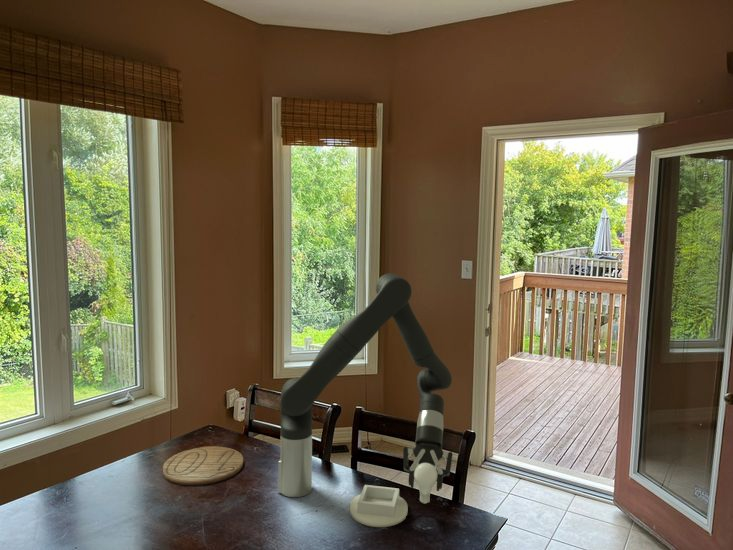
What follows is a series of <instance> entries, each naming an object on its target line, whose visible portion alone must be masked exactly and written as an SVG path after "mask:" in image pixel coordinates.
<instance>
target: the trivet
mask: <svg viewBox="0 0 733 550" xmlns="http://www.w3.org/2000/svg"><path fill="white" fill-rule="evenodd" d="M243 466H244V457H243V454H242V453H241V452H239V450H236V449H233V448H229V447H225V446H216V445H215V446H202V447H195V448H194V447H193V448H190V449H186V450H183V451H181V452H178V453H176V454H174V455H172V456H171V457H169V458H168V459H167V460H166V461H165V462H164V464H163V465H162V475H163V477H164V478H165V479H166V481H169V482H171V483H173V484H175V485H176V484H177V485H181V486H205V485H209V484H215V483H219V482H222V481H225V480H227V478H228V479H230V478H232V477H233V476H235V475H236V474H238V473H239V472H240V471H241V470H242V468H243Z"/></svg>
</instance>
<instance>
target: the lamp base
mask: <svg viewBox="0 0 733 550" xmlns="http://www.w3.org/2000/svg"><path fill="white" fill-rule="evenodd" d="M408 509H409V508H408V503H407V501H406V500H405V499H404V498H403V497H401V496H400V488H395V487H388V486H378V485H371V484H369V485H368V484H364V486H363V488H362V490H361V493H360V494H358V495H356V496H355V497H353V498H352V500H351V501H350V504H349V514H350V517H352V519H353V520H355V521H356V522H358V523H359V524H362V525H364V526H368V527H372V528H373V527H374V528H386V527H392V526H395V525H398V524H400V523H402V522H403V521H404V520H406V518H407V517H408V513H409V512H408ZM406 516H407V517H406Z"/></svg>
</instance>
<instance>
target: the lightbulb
mask: <svg viewBox="0 0 733 550" xmlns="http://www.w3.org/2000/svg"><path fill="white" fill-rule="evenodd" d="M437 476H438V473H437V471H436V469H435V467H434V465H431V464H429V463H421V464H419V465H418V466H417V467H416V469H415V471H414V482H415V483H416V484H417V486H418V489H419V502H421V503H422V504H427V503H430V497H431V491H432V489H433V487H434V485H435V484H437Z"/></svg>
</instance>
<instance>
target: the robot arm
mask: <svg viewBox="0 0 733 550" xmlns="http://www.w3.org/2000/svg"><path fill="white" fill-rule="evenodd" d="M375 291H376V295H375V297H373V299H372V300H371V301H370V303H368V305H367V306H366V307H365V308H364V309H362V310H361V311H360V312H359V313H357V314H356V315H354V316H352V317H351V318H349V319H348V320H346V321H345V322H344V323H342V324H341V326H339V327H338V328H337V329H336V330H335V332H333V333H332V335H331V336H330V337H329V338H328V339H327V340H326V342H325V343H324V344H323V346H322V347H321V348H320V350H319V352H318V353H317V355H316V356H315V359H314V360H313V361H312V363H311V364H310V366H309V367H308V368H307V369H306V371H304V373H303V374H301V376H299V377H294V378H290V379H288V380H287V381H286V382H285V383H284V384H283V386H282V388H281V391H280V396H279V398H280V399H279V402H280V459H278V462H277V493H278V494H282V495H283V496H286V497H289V498H302V497H304V496H307V495H308V494H310V493H311V492H312V489H313V488H312V486H313V485H312V484H313V481H312V480H313V472H312V471H313V404H314V403H315V402H316V400H317V399H318V398H319V396H320V395H321V393H322V392H323V390H324V389H326V387H327V386H328V385H329V384H330V382H332V381H333V380H334V379H335V378H336V377H337V376H338V375H339V374H340V373H342V371H343V370H344V369H345V368H346V367H347V366H348V365H349V364H350V363H351V362H352V361H353V360H354V359H355V358H356V356H358V354H359V353H360V352H361V351H362V350H363V349H364V348H365V346H366V345H367V344H368V343H369V341H371V339H373V337H374V336H375V335H376V334H377V333H378V332H379V330H380V329H381V328H382V327H383V326H384V325H385V324H386V323H387V322H388V321H389V320H390V319H391V318H392V319H393V321H394V322H395V324H396V326H397V328H398V330H399V332H400V335H401V337H402V340H403V342H404V344H405V346H406V349H407V351H408V354H409V355H410V357H411V360H412V361H413V364H414V365H415V366H416V367H419V368H424V369H422V370H420V371H419V372H418V374H417V376H416V384H417V388H418V394H419V395H418V396H419V400H420V401H419V412H418V418H417V423H416V434H415V442H414V443H415V444H414V446H413V448H409V447H407V446H405V447H403V451H402V452H403V454H402V455H403V458H402V459H403V464H402V465H403V471H405V472H408V473H409V474H408V486H410V489H414V485H415V478H414V471H415V469H416V467H417V466H418V465H419V464H421V463H429V464H431V465H433V466H434V467H435V469H436V471H437V475H438V476H437V481H436V491H437V492H440V490H442V488H443V480H444V477H449V476H450V475H451V469H452V462H453V457H454V455H453V452H452V451H449V452H445V451H444V450H443V436H444V435H443V434H444V409H445V406H444V405H445V401H444V398H443V397H442V396H441V395H440V394H436V393H432V392H435V391H443V390H447V389H449V388H450V386H451V385H452V379H453V377H452V374H451V372H450V370H449V367H448V366H447V365H446V364H445V363H444V362H443V361H442V359H440V357H439V356H438V355H437V354H436V352H435V350H434V348H433V346H432V344H431V342H430V339H429V338H428V336H427V334H426V332H425V330H424V329H423V327H422V325H421V324H420V322H419V320H418V318H417V317H416V315H415V313H414V312H413V310H412V307H411V305H410V299H411V296H412V286H411V284H410V283H409V281H408V280H406V279H405V278H403V277H402V276H401V275H399V274H396V273H392V272H391V273H390V272H389V273H385V274H383V275H381V276H380V277H379V278H378V280H377V282H376V286H375ZM412 454H413V455H414V457H415V459H414V460H413V463H412V464H411V466H410V465H409V458H410V457H411V456H412ZM443 457H444V461H445V462H446V464H445V469H442V467H441V464H440V460H441V459H442V458H443Z"/></svg>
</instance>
